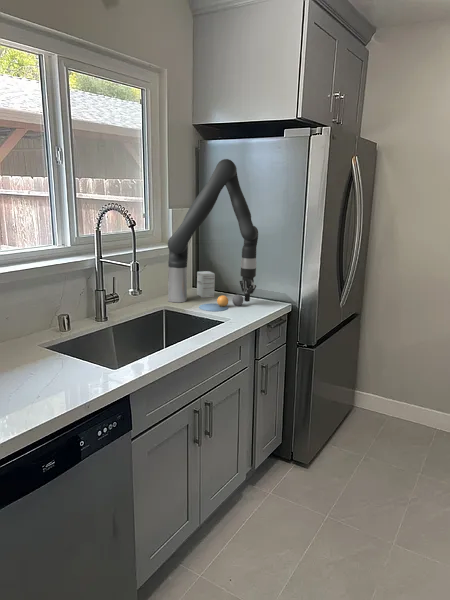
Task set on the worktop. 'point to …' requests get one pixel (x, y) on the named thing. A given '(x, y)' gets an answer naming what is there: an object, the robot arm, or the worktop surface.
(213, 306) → the blue mark
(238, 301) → the gray ball
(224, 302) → the orange ball
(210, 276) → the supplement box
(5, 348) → the worktop surface
